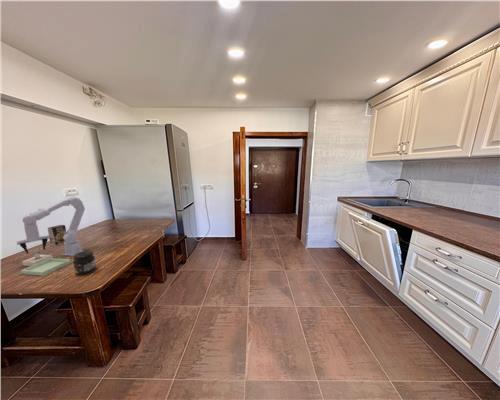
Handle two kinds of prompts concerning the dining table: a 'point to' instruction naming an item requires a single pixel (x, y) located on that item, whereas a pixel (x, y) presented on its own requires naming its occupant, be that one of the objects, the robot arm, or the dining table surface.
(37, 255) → the steel pin
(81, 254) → the supplement container
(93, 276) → the dining table surface
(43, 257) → the socket block
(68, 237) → the robot arm
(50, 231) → the coffee box
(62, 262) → the tray
